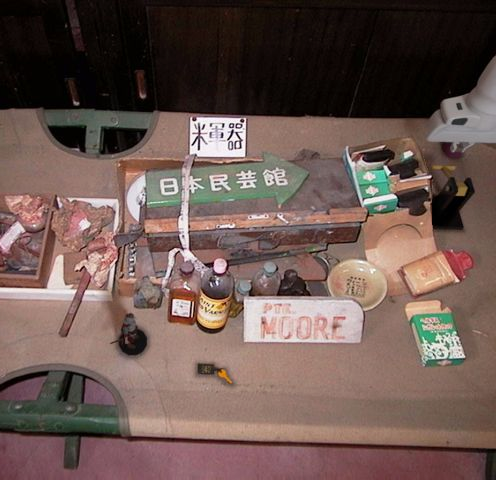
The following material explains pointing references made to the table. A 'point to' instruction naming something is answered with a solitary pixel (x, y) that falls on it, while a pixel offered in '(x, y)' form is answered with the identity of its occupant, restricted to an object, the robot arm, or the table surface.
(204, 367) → the key tag
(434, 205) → the black slotted stand
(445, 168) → the lever
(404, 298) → the table surface
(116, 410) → the table surface
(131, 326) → the figurine
